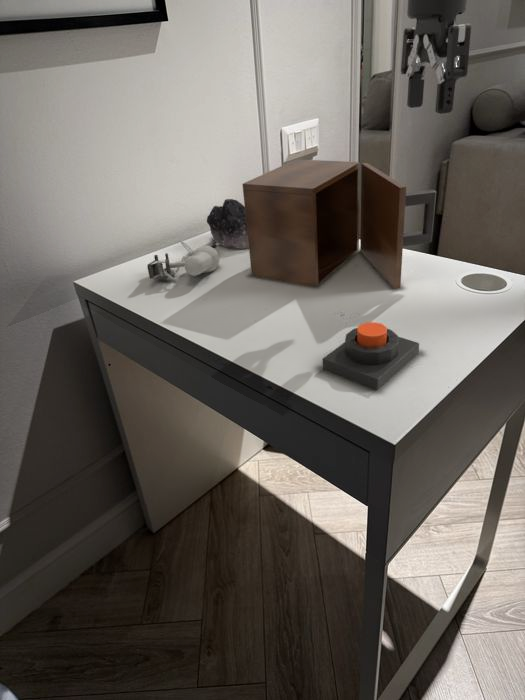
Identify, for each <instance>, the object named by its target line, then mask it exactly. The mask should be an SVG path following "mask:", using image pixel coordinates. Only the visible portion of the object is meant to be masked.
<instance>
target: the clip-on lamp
mask: <svg viewBox="0 0 525 700" xmlns="http://www.w3.org/2000/svg"><path fill="white" fill-rule="evenodd" d="M178 241H179V242H180V243H181V245H182V247H184V248H185V250H186V251H187V252H188V253H189V254H191V256H189V257H186V256H185V255H183V256H182V257H181V260H180V261H178V262H170V258H169V254H168V253H164V255H165V256H164V257H165V259H163V260H159V256H158V254H154V256H153V257H154V260H152V261H151V262H149V263H148V264H147V265H146V266H147V272H148V276H149V279H150V280H153V279H155V278H158V277H168V278H169V279H171V280H172V281H178V275H177V273H178V272H179V271H180V268H184V271H186V273H187V274H188V275H190V276H193V277H195V276H198V275H201V274H204V273H211V272H214V271H215V270H216V269H217V268H218V266H219V264H220V256H219V253H218V251H217V250H216V249H215V248H217V246H221V245H220V243H213V244H212V245H210V246H209V245H201V246H198V247H196V248H195V250H193V249H192V248H191V247H190V246H188V244H186V243H185V242H184V241H183V240H181V238H179V239H178ZM164 264H165V267H164ZM172 269H175V270H173V271H172ZM171 274H172V275H171ZM173 275H174V277H173Z"/></svg>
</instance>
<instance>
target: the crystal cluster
mask: <svg viewBox="0 0 525 700" xmlns="http://www.w3.org/2000/svg"><path fill="white" fill-rule="evenodd" d="M206 217H207V218H206V223H207V224H208V225H209V229H210V234H211V235H212V238H213V240H214V242H215V244H217V243H220V245H219V246H222V247H224V248H228V249H229V248H236V249H249V243H248V233H247V224H246V214H245V205H244V204H243V203H241V202H240V201H239V200H236V199H233V198H227V199H226V198H225V199H224V201H223V203H222V205H220V206H219V205H214V206H213V207H212V208H211V210H210V213H209V214H208V215H207V216H206Z"/></svg>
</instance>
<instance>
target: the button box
mask: <svg viewBox="0 0 525 700" xmlns="http://www.w3.org/2000/svg"><path fill="white" fill-rule="evenodd" d="M357 328H358V327H356V328H352V329H351V330H350V331H348V332H347V333H346V334H345V339H344V342H343V343H342V344H340V345H339V346H338V347H336V348H335V349H334V350H332V351H331V352H330V353H328V354H327V355H326V356H324V357H323V358H322V370H324V371H327V372H330V373H332V374H335V375H337V376H339V377H342V378H345V379H348V380H349V381H352V382H355V383H358V384H359V385H362V386H365V387H368V388H370V389H372V390H375V391H379V390H380V389H381V388H382V387H383V386H384V385H385V384H387V383H388V382H389V381H390V380H391V379H392V378H393V377H394V376H396V375H397V374H398V372H400V371H401V370H402V369H403V368H404V367H406V366H407V364H409V363H410V362H412V361H413V359H415V357H417V356H418V355H419V352H420V342H417V341H414V340H411V339H407V338H404V337H401V336H399V335H398V334H397V333H396V332H395V331H393V329H392V330H391V329H390V328H387V340H386V344H385V345H384V346H380V347H365V346H362V345H359V344H358V342H357Z"/></svg>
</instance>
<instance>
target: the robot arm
mask: <svg viewBox="0 0 525 700" xmlns="http://www.w3.org/2000/svg"><path fill="white" fill-rule="evenodd" d="M467 4H468V0H407V9H406V10H407V11H406V15H407V19H410V20H415V19H416V23H415V26H413V27H407V28H404V30H403V37H402V49H401V63H400V73H401V75H405V78H406V80H408V83H407V101H406V106H407V108H410V109H413V108H414V109H415V108H420V107H422V106H423V102H424V90H425V78H424V77H425V75H426V73H427V71H428V68H429V67H431V69H432V70H434V71H435V73H436V77H437V81H438V83H437V85H436V86H437V87H436V99H435V113H437V114H439V115H441V114H449V113H451V112H452V111H453V109H454V100H455V99H454V98H455V91H456V83H457V82H458V81H459V80H460V79H461V78H465V77H467V75H468V70H469V60H470V59H469V57H470V56H469V55H470V48H471V47H470V45H471V33H472V25H471V23H460V24H459V23H458V24H457V16H458V15H462V14H464V13H465V12H466V10H467ZM458 62H459V66H458V64H457V63H458Z"/></svg>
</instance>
